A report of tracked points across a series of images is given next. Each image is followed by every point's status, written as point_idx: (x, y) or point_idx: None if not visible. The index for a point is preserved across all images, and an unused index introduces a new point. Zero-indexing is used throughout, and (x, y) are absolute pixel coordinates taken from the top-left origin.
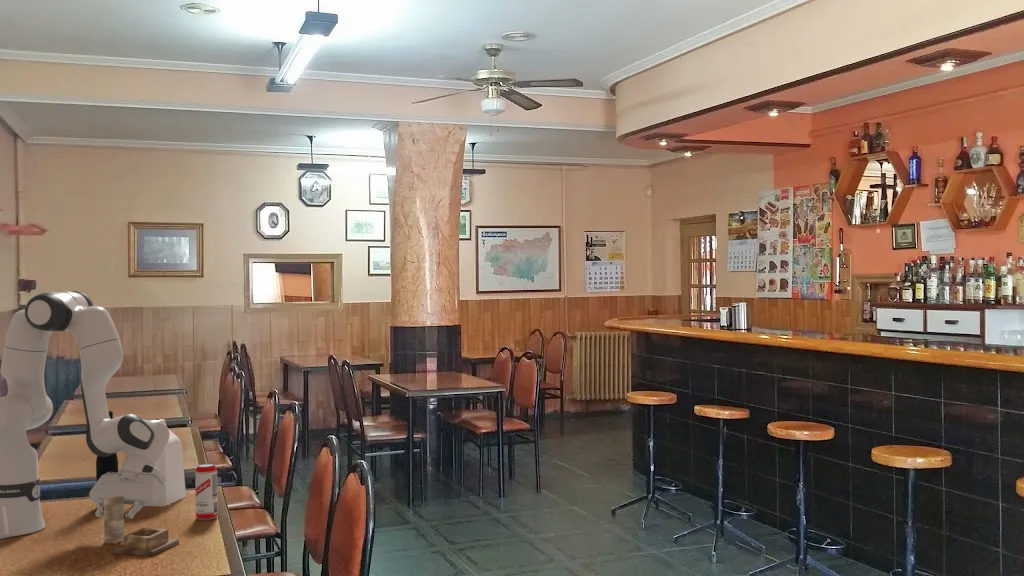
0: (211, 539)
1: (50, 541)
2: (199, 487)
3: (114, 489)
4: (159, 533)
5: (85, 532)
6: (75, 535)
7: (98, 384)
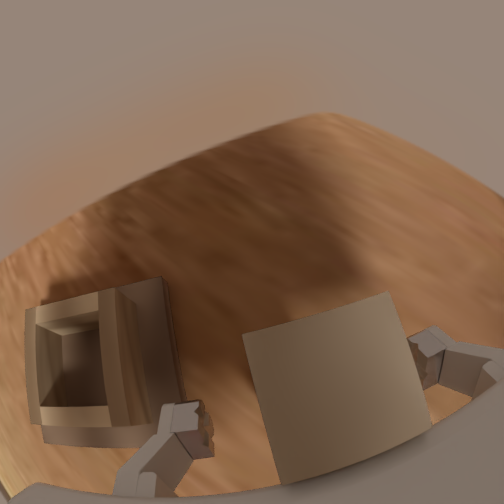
0: None
1: (484, 266)
2: None
3: (497, 480)
4: (25, 366)
5: None
6: None
7: None
